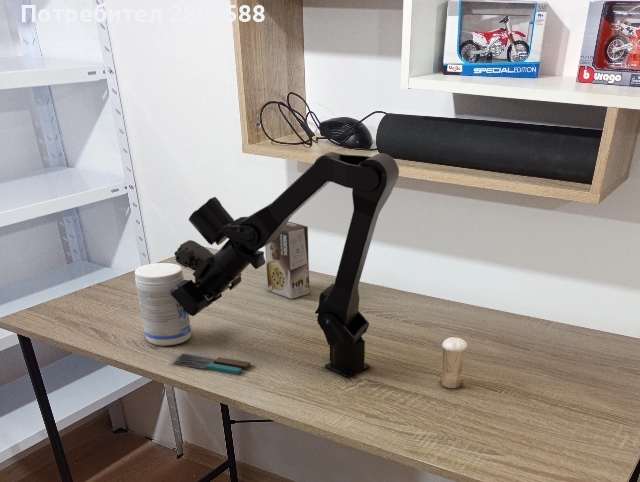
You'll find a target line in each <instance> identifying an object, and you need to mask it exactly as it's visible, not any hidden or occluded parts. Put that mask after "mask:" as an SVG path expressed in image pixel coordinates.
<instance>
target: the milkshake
mask: <svg viewBox="0 0 640 482" xmlns="http://www.w3.org/2000/svg"><path fill="white" fill-rule="evenodd" d="M471 341H472V339H470V340H469V342H468V343H467V342H466V341H465V340H464V339H463V338H461V337H455V336H454V337H453V336H452V337H447V338H446V339H445V340H444V341H443V342H442V344H441V347H442V349H441V351H442V352H441V353H442V366H441V367H442V368H441V369H442V372H441V376H442V379H441V384H442V386H443V387H445V388H447V389H456V388H459V386H460V384H461V378H462V374H463V367H464V363H465V358H466V355H467V351H468V346H469V345H470V343H471Z"/></svg>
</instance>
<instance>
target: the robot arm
mask: <svg viewBox="0 0 640 482" xmlns="http://www.w3.org/2000/svg"><path fill="white" fill-rule="evenodd" d="M399 177H400V168H399V166H398V164H397V162H396V160H395V159H394V157H393V156H391V155H389V154H387V153H383V152H380V153H376V154H374V155H372V156H369V155H360V154H344V153H339V152H338V153H337V152H334V151H330V152H329V151H328V152H326V153H325V154H322V155H320V156H318V157H317V158H316V159H315V161H314V163H312V165H311V166H309V168H307V169H306V170H305V171H304V172H303V173H302V174H301V175H300V176H299V177H298V178H297V179H296V180H295V181H294V182H293V183H291V184H290V185H289V186H288V187H287V188H286V189H285V190H284V191H283V192H282V193H281V194H280V195H278V196H277V197H276V198H275V199H274V200H273V201H272V202H271V203H269V204H268V205H266V206H264V207H262V208H261V209H259V210H257V211H255V212H254V213H252V214H251V215H249V216H240V217H238V218H235V219H234V218H233V216H231V214H230V213H229V212H228V211H227V210H226V208H225V207H223V205H222V203H221V201H220V200H219V199H218V198H217V197H216V196H213V197H211V198H209V199H208V200H207V201H206V202H205V203H203V204H202V205H201V206H200V207H198V208H197V209H195V210H194V211H193V212H192V213H190V214H191V215H190V216H189V217H188V221H189V222H190V224H191V225H192V226H193V227H194V229H195V230H196V231H197V232H198V233H199V234H200V236H202V238H203V239H204V240H205V241H206V242H207V243H208V244H209V245H210V246H212V245H214V244H215V245H217V246H220V245H222V243H224V242H225V241H226V240H227V239H228V240H227V241H226V242H225V243H224V244H223V245H222V246H221V247H220V248H219V250H218V251H217V252H215V253H212V252H211V251H210V249H208V248H206V247H204V246H203V245H202V244H200V243H198V242H197V241H195V240H192V239H189V240H186V241H185V242H183V243H180V245H179V246H178V248H177V250H176V251H174V253H173V254H174V257H175V258H174V259H175V262H176V263H177V264H178V265H180V266H181V267H184V268H187V269H190V270H192V271H193V273H192V275H193V278H194V281H193V279H184V280H183V281H181V282H180V283H178V284H177V285H175V286H174V287H173V288H172V290H171V291H170V293H171V295H172V296H173V297H174V299H175V300H176V301H177V302H178V303H179V304H180V305H181V306H182V307H183V309H184V311H185V312H187V313H188V314H189V316H191V317H194V316H195V317H196V315H198V314H199V313H201V312H202V311H203V310H204V309H205V308H208V307H209V306H211V305H212V304H213V303H214V302H216V301H218V300H219V299H220V298H222V297H223V293H224V292H226V291H227V290H229V291H232V290H233V289H235V288H236V287H237V286H238V285H239V284H241V282H242V272H244V270H245V269H247V268H248V266H249V265H251V266H252V267H253V268H254V269H255V270H258V269H259V268H261V267H262V266H264V265H266V257H265V252H264V251H263V250H260V249H262V248H265V246H266V245H267V244H269V243H271V242H272V241H274V240H276V238H277V237H278V236H279V235H280V233H281V232H282V231H283V229H284V228H285V226H286V224H287V223H288V221H289V222H290V219H291V218H292V216H294V214H296V213H298V212H299V210H300V209H301V208H303V207H304V206H305V205H306V204H307V203H308V202H309V201H311V199H313V198H314V197H315V196H316V195H317V194H318V193H319V192H320V191H322V190H323V189H324V188H325V187H326V186H327V185H328V184H329V183H334V184H336V185H338V186H341V187H344V188H347V189H352V190H351V196H352V197H351V198H352V207H353V211H352V215H351V219H350V223H349V225H348V226H349V227H348V230H347V235H346V238H345V243H344V245H343V249H342V252H341V257H340V260H339V265H338V269H337V272H336V277H335V280H334V283H331V284H330V285H329V286H328V287H326V288H325V289H324V290H323V291H321V292H320V294H319V298H318V306H317V308H316V310H315V311H314V314H317V315H316V317H317V318H316V320H317V325H318V326H319V327H320V329H321V330H322V332H323V334H324V337H325V340H326V342H327V345H328V346H329V362H327V363H326V364H325V365H324V368H325V369H327V370H329V371H331V372H334V373H336V374H338V375H341V376H342V377H345V378H351V377H353V376H355V375H357V374H359V373H362V372H364V371H366V370H368V369H371V364H368V363H366V362H365V361H366V359H365V357H366V354H365V353H366V340H364V339H363V335H364V334H366V333H367V331H368V329H369V326H370V322H369V321H368V320H367V319H366V318H365V316H364V315H363V314H362V313H361V311H360V310H359V306H360V293H359V284H360V281H361V277H362V274H363V271H364V267H365V264H366V260H367V256H368V253H369V250H370V246H371V242H372V239H373V236H374V232H375V228H376V225H377V222H378V219H379V215H380V213H381V211H382V210H383V208H384V206H385V204H386V203H387V201H388V200H389V198H390V196H391V194H392V192H393V190H394V188H395V186H396V184H397V182H398V179H399Z"/></svg>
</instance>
